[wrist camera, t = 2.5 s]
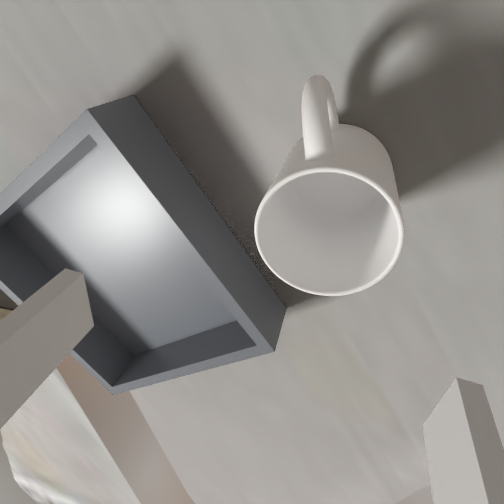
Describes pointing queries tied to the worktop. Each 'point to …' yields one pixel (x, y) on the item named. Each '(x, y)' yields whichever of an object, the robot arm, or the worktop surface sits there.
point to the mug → (331, 205)
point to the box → (135, 253)
